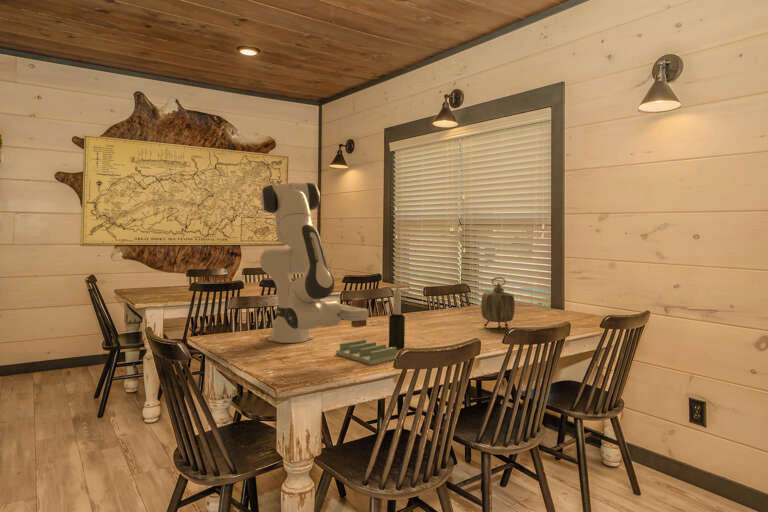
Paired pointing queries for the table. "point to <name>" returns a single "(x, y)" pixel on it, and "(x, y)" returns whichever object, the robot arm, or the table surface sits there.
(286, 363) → the table surface
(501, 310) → the tabletop clock
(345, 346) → the rack
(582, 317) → the table surface
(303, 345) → the table surface
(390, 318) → the candle
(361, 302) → the block
